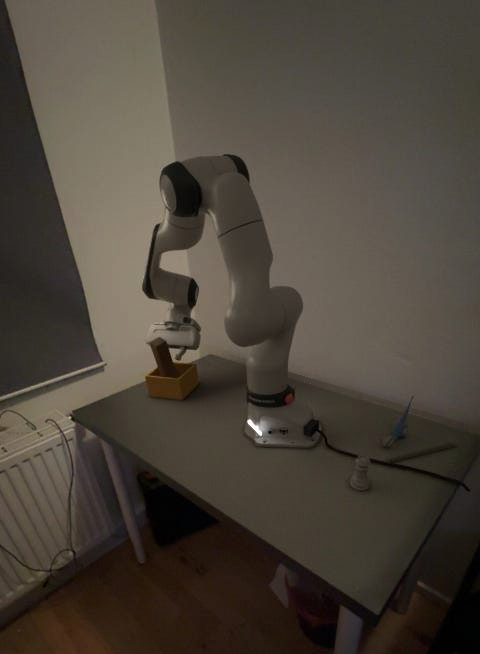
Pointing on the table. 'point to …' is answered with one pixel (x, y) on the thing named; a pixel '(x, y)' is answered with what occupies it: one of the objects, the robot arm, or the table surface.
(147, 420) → the table surface
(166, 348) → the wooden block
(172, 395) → the bin
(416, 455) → the rod
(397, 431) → the dinosaur figurine
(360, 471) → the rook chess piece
